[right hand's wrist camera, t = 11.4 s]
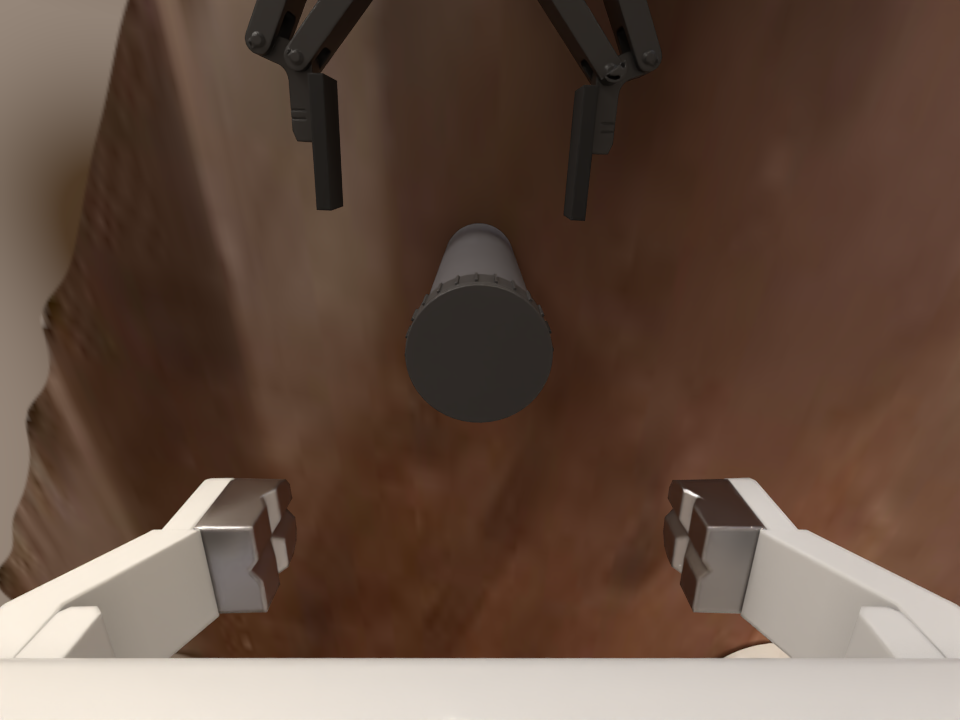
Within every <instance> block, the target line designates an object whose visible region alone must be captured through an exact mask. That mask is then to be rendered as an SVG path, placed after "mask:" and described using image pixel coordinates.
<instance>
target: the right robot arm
mask: <svg viewBox="0 0 960 720" xmlns="http://www.w3.org/2000/svg"><path fill="white" fill-rule="evenodd" d="M291 500H292V494H291V489H290V484H289V483H288V482H287V480H286V479H243V478H236V479H234V478H211V479H207V480H205V481H204V482H203V483H202V484H201V485H200V486H199V487H198V488H197V490H196V491H195V492H194V493H193V494H192V495H191V497H190V498H189V499H188V500H187V501H186V502H185V504H184V505H183V506H182V507H181V508H180V509H179V510H178V512H177V513H176V514H175V515H174V516H173V517H172V519H171V520H170V521H169V522H168V523H167V524H166V525H165V527H164V528H163V529H162V530H152V531H150V532H148V533H146V534H144V535H142V536H140V537H138V538H136V539H134V540H132V541H130V542H128V543H126V544H124V545H122V546H120V547H118V548H116V549H114V550H112V551H110V552H108V553H106V554H104V555H102V556H100V557H98V558H96V559H94V560H92V561H90V562H88V563H86V564H84V565H82V566H80V567H78V568H76V569H74V570H72V571H70V572H68V573H66V574H64V575H62V576H60V577H58V578H56V579H53V580H51V581H49V582H47V583H45V584H43V585H41V586H39V587H37V588H35V589H33V590H31V591H29V592H27V593H25V594H23V595H21V596H19V597H17V598H15V599H13V600H11V601H9V602H7V603H5V604H4V605H3V606H1V607H0V720H960V607H959V606H958V605H956V604H954V603H952V602H950V601H948V600H946V599H944V598H942V597H940V596H938V595H936V594H934V593H932V592H930V591H928V590H926V589H924V588H922V587H920V586H918V585H916V584H914V583H912V582H910V581H908V580H906V579H904V578H902V577H900V576H898V575H896V574H894V573H892V572H890V571H888V570H886V569H884V568H882V567H880V566H878V565H876V564H874V563H872V562H870V561H868V560H866V559H864V558H862V557H860V556H858V555H856V554H854V553H852V552H850V551H848V550H846V549H844V548H842V547H840V546H838V545H836V544H834V543H832V542H830V541H828V540H826V539H824V538H822V537H820V536H818V535H816V534H814V533H812V532H810V531H808V530H798V529H797V528H796V527H795V526H794V524H793V523H792V522H791V521H790V520H789V519H788V517H787V516H786V515H785V514H784V513H783V512H782V510H781V509H780V508H779V507H778V506H777V505H776V504H775V502H774V501H773V500H772V499H771V498H770V497H769V495H768V494H767V493H766V492H765V491H764V490H763V489H762V487H761V486H760V485H759V484H758V483H757V482H756V481H755V480H753V479H751V478H731V479H705V480H672V483H671V485H670V487H669V493H668V500H669V502H670V503H671V505H672V507H673V509H672V510H671V511H670V513H669V514H668V515H667V516H666V517H665V520H664V529H663V535H664V547H665V550H666V554H667V557H668V559H669V562H670V564H671V566H672V567H673V568H675V569H676V570H677V571H679V572H680V573H682V574H681V581H680V585H681V587H682V589H683V592H684V594H685V596H686V598H687V600H688V602H689V604H690V606H691V608H692V610H693V612H709V613H741V616H742V617H743V618H744V619H745V620H746V621H748V622H749V623H750V624H751V625H752V626H754V627H755V628H756V629H757V630H758V631H759V632H761V633H762V634H763V635H764V636H765V637H767V638H768V639H769V640H770V641H771V642H772V643H769V644H762V645H756V646H752V647H748V648H745V649H742V650H739V651H737V652H734V653H732V654H730V655H728V656H726V657H724V658H170V657H171V656H172V655H174V654H175V653H176V652H177V651H178V650H180V649H181V648H182V647H183V646H184V645H185V644H187V643H188V642H189V641H190V640H191V639H193V638H194V637H195V636H196V635H197V634H198V633H200V632H201V631H202V630H203V629H204V628H206V627H207V626H208V625H209V624H210V623H211V622H213V621H214V620H215V619H216V618H217V617H218V616H219V613H250V612H267V610H268V608H269V606H270V604H271V602H272V600H273V598H274V596H275V594H276V592H277V589H278V587H279V585H280V581H279V574H278V573H280V572H281V571H283V570H284V569H285V568H287V567H288V566H289V564H290V562H291V559H292V557H293V554H294V550H295V545H296V534H297V527H296V520H295V517H294V516H293V515H292V514H291V513H290V511H289V510H288V509H287V507H288V505H289V503H290V502H291Z"/></svg>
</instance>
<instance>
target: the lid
mask: <svg viewBox="0 0 960 720" xmlns="http://www.w3.org/2000/svg"><path fill="white" fill-rule="evenodd" d="M543 316H544V313H543V311H542V309H541V306H540V305H538V306H537V304H536V303H535V301H534V300H533V299H532V298H531V295H530V292H529V291H527V292H526V291H524V290H523V289H522V288H521V287H519V286H518V285H516V284H515V281H513V280H512V281H509V280H506V279H504V278H501V277H498V276H497V274H494V275H487V274H478V272H475V274H471V275H465V276H460V277H459V275H456V278H454V279H452V280H449V281H447V282H445V283H444V284H442V282H441V283H439V286H438V287H437V288H436V289H435V290H434V291H432V292H431V293H430V294H429V295H428V294H426V295H425V297H424V300H423V302H422V304H421V306H420V307H419V309H416V310H415V312H414V315H413V317H412V319H411V321H413V323H412V325H410V327H409V329H408V332H407V334H406V338H407V341H406V349H405V359H406V365H407V370H408V373H409V376H410V379H411V381H412V383H413V385H414V387H415V388H416V390H417V391H418V393H419V394H420V395H421V396H422V398H423V399H424V400H425V401H426V402H427V403H428V404H430V405H431V406H432V407H433V408H435V409H436V410H438V411H439V412H441V413H443V414H445V415H447V416H449V417H452V418H454V419H458V420H462V421H467V422H481V423H482V422H492V421H496V420H500V419H503V418H506V417H509V416H511V415H513V414H515V413H517V412H519V411H520V410H522V409H523V408H525V407H526V406H527V405H528V404H530V403H531V402H532V401H533V400H534V399H535V398H536V397H537V395H538V394H539V393H540V391H541V390H542V388H543V387H544V385H545V383H546V381H547V379H548V376H549V373H550V370H551V365H552V357H553V346H552V341H551V336H550V333H551V330H550V327H549V325H548V323H547V321H545V320H544V318H543Z"/></svg>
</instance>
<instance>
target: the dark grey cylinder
mask: <svg viewBox="0 0 960 720" xmlns="http://www.w3.org/2000/svg"><path fill="white" fill-rule="evenodd" d="M475 272H478V274H487V275H494V274H497V276H498V277H501V278H504V279H506V280H509V281H512V280H513V281H515V284H516V285H518V286H519V287H521V288H522V289H523V290H524V291H526V292H527V289H526V286H525V283H524V281H523V278H522V275H521V272H520V269H519V267H518V264H517V261H516V258H515V256H514V253H513V250H512V247H511V244H510V242H509V240H508V239H507V237H506V236H505V235H504V234H503V233H502V232H501V231H500V230H498V229H497V228H495V227H493V226H491V225H487V224H471V225H468V226H465V227H463V228H461V229H460V230H459V231H457V232H456V233H455V234H454V235H453V236H452V238H451V239H450V241H449V243H448V245H447V248H446V250H445V253H444V256H443V259H442V261H441V264H440V267H439V270H438V272H437V275H436V278H435V281H434V283H433V286H432V289H431V292H432V291H434V290H435V289H436V288H437V287H438V286H439V283H441V282H442V284H444V283H445V282H447V281H449V280H452V279H454V278H456V275H459V277H460V276H465V275H471V274H475ZM431 292H430V293H431Z"/></svg>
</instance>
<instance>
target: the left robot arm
mask: <svg viewBox="0 0 960 720" xmlns="http://www.w3.org/2000/svg"><path fill="white" fill-rule="evenodd" d="M538 1H539V3H540V5H541V6H542V8H543V9H544V11H545V13H546V14H547V16H548V17H549V19H550V20H551V22H552V24H553V25H554V27H555V28H556V30H557V32H558V33H559V35H560V36H561V38H562V39H563V41H564V43H565V44H566V46H567V47H568V49H569V51H570V52H571V54H572V55H573V57H574V58H575V60H576V62H577V63H578V65H579V66H580V68H581V69H582V71H583V73H584V74H585V76H586V77H587V79H588V81H589V82H590V84H591V85H583V86H582V87H580V88H579V89H578V90H576V91H575V97H574V108H573V119H572V129H571V140H570V151H569V162H568V173H567V184H566V194H565V205H564V216H566V217H567V218H569V219H570V220H579V221H585V215H586V206H587V197H588V187H589V178H590V168H591V159H592V154H608V153H609V151H610V149H611V147H612V145H613V137H614V129H615V120H616V112H617V103H618V95H619V91H620V89H621V87H622V85H623V84H624V83H625V82H627V81H630V80H633V79H635V78H639V77H641V76H643V75H645V74H647V73H649V72H651V71H653V70H655V69H656V68H657V67H658V66H659V64H660V63H661V59H662V53H661V49H660V45H659V42H658V38H657V35H656V32H655V28H654V25H653V21H652V18H651V14H650V11H649V7H648V4H647V0H603V1H604V4H605V8H606V11H607V14H608V17H609V20H610V24H611V27H612V30H613V33H614V36H615V40H616V43H617V46H618V49H619V52H620V55H619V56H618V55H617V54H616V52H615V51H614V49H613V47H612V46H611V44H610V42H609V41H608V39H607V37H606V36H605V34H604V32H603V31H602V29H601V27H600V26H599V24H598V22H597V21H596V19H595V18H594V16H593V14H592V13H591V11H590V9H589V8H588V6H587V4H586V3H585V1H584V0H538ZM371 2H372V0H318V2H317V3H316V5H315V6H314V7H313V9H312V10H311V12H310V13H309V15H308V16H307V18H306V19H305V21H304V22H303V23H302V25H301V26H300V28H299V29H298V31H297V32H296V34H295V35H294V33H295V30H296V28H297V25H298V22H299V19H300V17H301V14H302V11H303V9H304V6H305V3H306V0H257V1H256V4H255V7H254V10H253V13H252V16H251V19H250V22H249V25H248V28H247V31H246V35H245V41H246V45H247V46H248V48H249V49H250V50H251V51H252V52H253V53H255V54H258V55H260V56H262V57H264V58H266V59H268V60H270V61H273V62H275V63H277V64H279V65H281V66H282V67H283V68H284V69H285V71H286V73H287V75H288V79H289V90H290V102H291V115H292V127H293V132H294V135H295V137H296V139H297V141H301V142H312V145H313V160H314V174H315V189H316V204H317V210H334V209H337V208H339V207H342V206H343V193H342V174H341V154H340V134H339V114H338V95H337V81H336V80H334V79H332V78H331V77H329V76H327V75H325V74H323V73H321V71H322V70H323V69H324V67H325V66H326V64H327V63H328V62H329V60H330V59H331V57H332V56H333V55H334V53H335V52H336V50H337V49H338V48H339V46H340V45H341V44H342V42H343V41H344V39H345V38H346V37H347V35H348V34H349V32H350V31H351V30H352V28H353V27H354V25H355V24H356V23H357V21H358V20H359V19H360V17H361V16H362V14H363V13H364V12H365V10H366V9H367V7H368V6H369V5H370V3H371ZM293 36H294V37H293Z"/></svg>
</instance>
